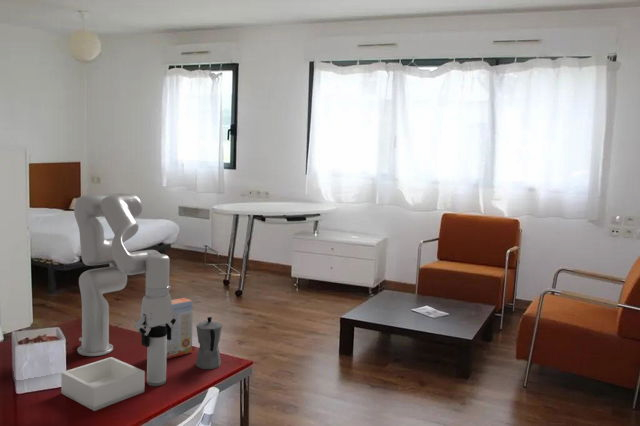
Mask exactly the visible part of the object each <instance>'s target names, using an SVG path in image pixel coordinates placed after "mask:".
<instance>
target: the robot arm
mask: <svg viewBox="0 0 640 426" xmlns="http://www.w3.org/2000/svg"><path fill="white" fill-rule="evenodd" d="M142 212H143V203H142V201H141V199H140V198H139V197H138V196H137V194H133V193H132V194H131V193H129V194H128V193H92V194H84V195H81V196H79V197H78V198H77V199H76V200H75V202H74V206H73V213H74V218H75V221H76V224H77V226H78V230H79V232H78V233H79V243H80V255H81V260H82V262H83V264H84V265H85V266H101V265H108V264H109V266H107V267H100V268H92V269H88V270H86V271H84V272H82V273H81V274H80V276H79V277H78V286H79V292H80V298H81V336H80V337H79V338H78V340H79V342H81V345H80V346H79V347H77V353H78V355H81V356H86V357H97V356H98V357H99V356H104V355H107V354H110V353H111V352H112V351H113V350H114V345H113V344H111V343H109V341H110V336H109V333H110V330H109V329H110V326H109V325H110V324H109V323H110V310H109V309H110V305H109V302H108V300H107V299H106V298H105V297H104V295H103V294H107V293H112V292H117V291H121V290H123V289H125V287H126V286H127V283H128V276H133V275H139V274H144V273H145V295H144V296H143V298H142V302H141V305H140V306H141V307H140V316H139V317H140V318H139V319H138V320H137V321H136V322H135V323H134V327H135V329H136V330H137V332H138V333H139V334H141V345H142V346H143V347H149V346H150V335H148V333H149V331H150V329H151V328H153V327H156V326H160V325H165V326H166V327H167V340H171V328H173V325H174V323H175V322H176V319H177V316H178V313H176V312H174V311H172V301H171V300H172V297H171V294H170V290H172V286H171V285H170V266H171V265H170V260H171V259H170V257H169V256H168V255H167V254H165V253H160V252H159V251H158V250H157V249H156V250H155V249H146V250H137V251H129V252H128V251H127V249H126V247H125V245H124V242H127V241H128V240H130V239H131V238H133V237H134V236H135V235H136V234H137V233H138V231H139V228H140V227H139V224H138V222H137V219H136V217H140V215H141V213H142ZM103 217H104V219H105V220H106V222H107V224H108V225H109V227H110V229H111V231H112V232H113V234H114V236H113V237H112V238H105V229H104V226H103V225H102V223H101V222H100V220H99V219H98V218H103Z"/></svg>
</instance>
